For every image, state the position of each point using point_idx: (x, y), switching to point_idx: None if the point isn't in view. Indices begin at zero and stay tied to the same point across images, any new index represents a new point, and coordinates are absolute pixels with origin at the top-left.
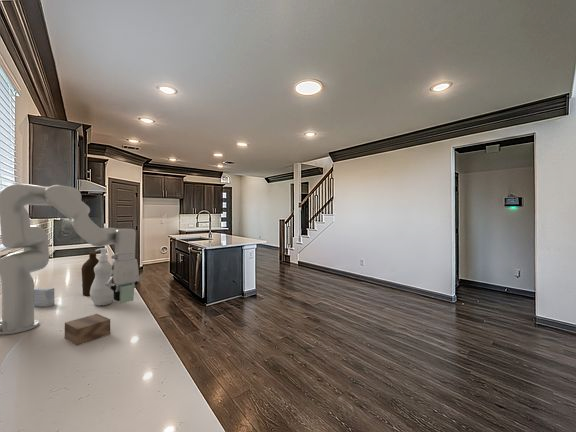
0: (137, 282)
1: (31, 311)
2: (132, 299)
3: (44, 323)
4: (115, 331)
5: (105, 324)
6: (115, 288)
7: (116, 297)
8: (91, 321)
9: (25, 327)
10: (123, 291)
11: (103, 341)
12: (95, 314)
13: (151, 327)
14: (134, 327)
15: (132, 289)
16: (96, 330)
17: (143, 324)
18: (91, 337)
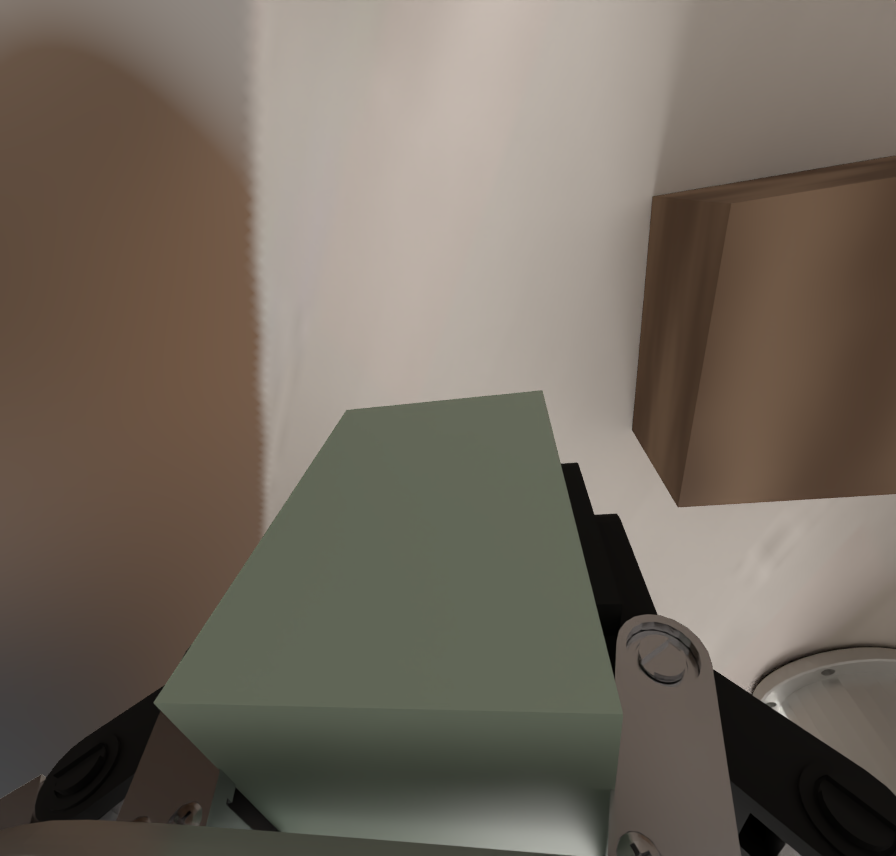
0: (60, 771)
1: (882, 775)
2: (354, 418)
3: (739, 672)
4: (589, 233)
5: (767, 192)
6: (711, 742)
7: (602, 525)
8: (891, 311)
9: (858, 670)
10: (525, 547)
11: (805, 23)
12: (700, 496)
13: (294, 9)
14: (432, 188)
15: (279, 557)
16: (855, 172)
17: (344, 198)
18: (863, 164)
